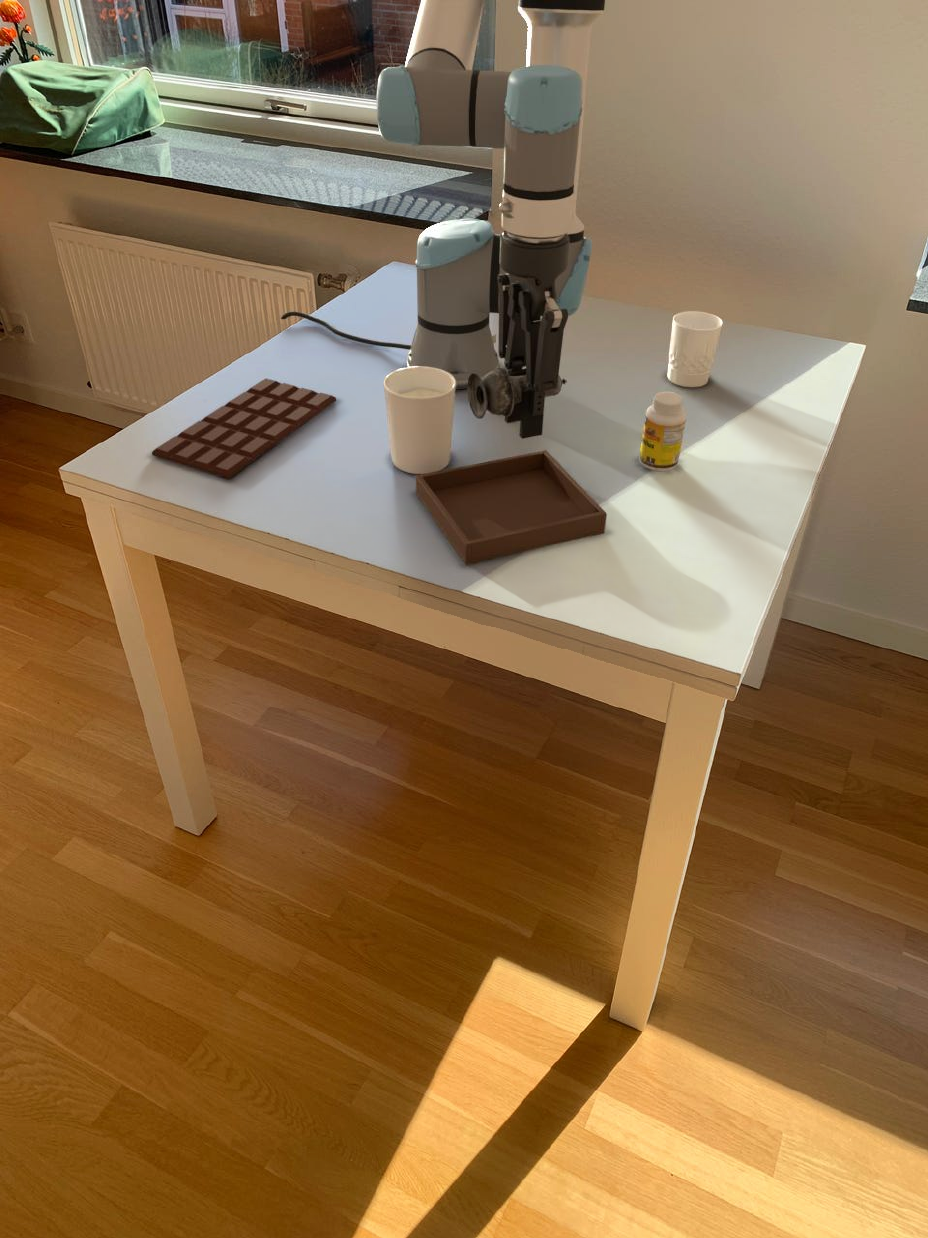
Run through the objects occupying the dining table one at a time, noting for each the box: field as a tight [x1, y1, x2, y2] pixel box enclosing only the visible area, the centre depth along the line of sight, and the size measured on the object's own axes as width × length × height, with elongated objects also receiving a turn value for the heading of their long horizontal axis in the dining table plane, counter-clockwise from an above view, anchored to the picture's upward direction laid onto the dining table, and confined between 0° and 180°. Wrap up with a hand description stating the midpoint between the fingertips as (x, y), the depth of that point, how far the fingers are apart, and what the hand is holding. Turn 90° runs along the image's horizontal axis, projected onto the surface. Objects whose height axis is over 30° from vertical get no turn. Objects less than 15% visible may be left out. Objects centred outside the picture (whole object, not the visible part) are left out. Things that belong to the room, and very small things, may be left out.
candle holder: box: [383, 366, 457, 475], centre depth 134 cm, size 10×10×12 cm
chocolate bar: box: [151, 378, 337, 480], centre depth 144 cm, size 27×14×1 cm, turn 153°
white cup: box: [666, 310, 724, 388], centre depth 157 cm, size 8×8×10 cm
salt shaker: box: [467, 366, 568, 420], centre depth 115 cm, size 6×6×12 cm
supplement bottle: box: [638, 391, 687, 472], centre depth 135 cm, size 6×6×10 cm
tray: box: [415, 449, 608, 565], centre depth 126 cm, size 19×17×3 cm
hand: (523, 427), depth 119 cm, fingers closed on salt shaker, 3 cm apart
